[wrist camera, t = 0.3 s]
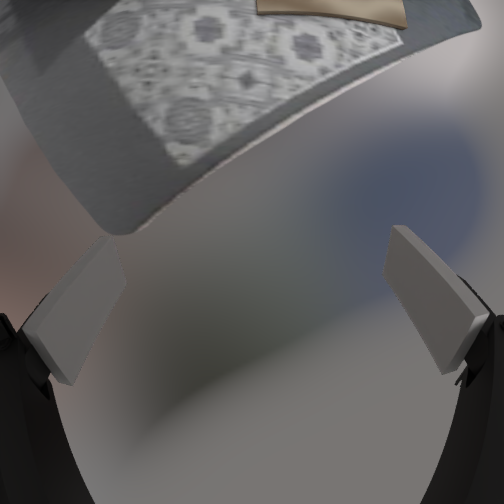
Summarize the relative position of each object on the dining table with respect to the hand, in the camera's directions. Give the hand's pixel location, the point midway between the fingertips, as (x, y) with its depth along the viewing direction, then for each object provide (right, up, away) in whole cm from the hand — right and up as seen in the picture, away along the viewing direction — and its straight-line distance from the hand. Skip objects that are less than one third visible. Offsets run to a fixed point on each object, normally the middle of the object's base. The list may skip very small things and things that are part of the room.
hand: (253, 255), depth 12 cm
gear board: (+11, +39, +10) cm, 42 cm away
